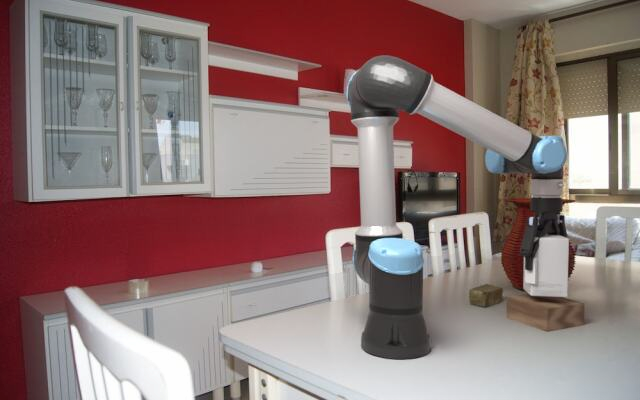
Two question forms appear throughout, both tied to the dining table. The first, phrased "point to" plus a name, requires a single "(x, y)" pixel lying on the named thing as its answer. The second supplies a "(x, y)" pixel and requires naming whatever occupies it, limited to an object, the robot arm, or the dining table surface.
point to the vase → (511, 248)
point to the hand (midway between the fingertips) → (544, 280)
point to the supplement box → (550, 267)
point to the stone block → (485, 295)
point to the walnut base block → (545, 312)
